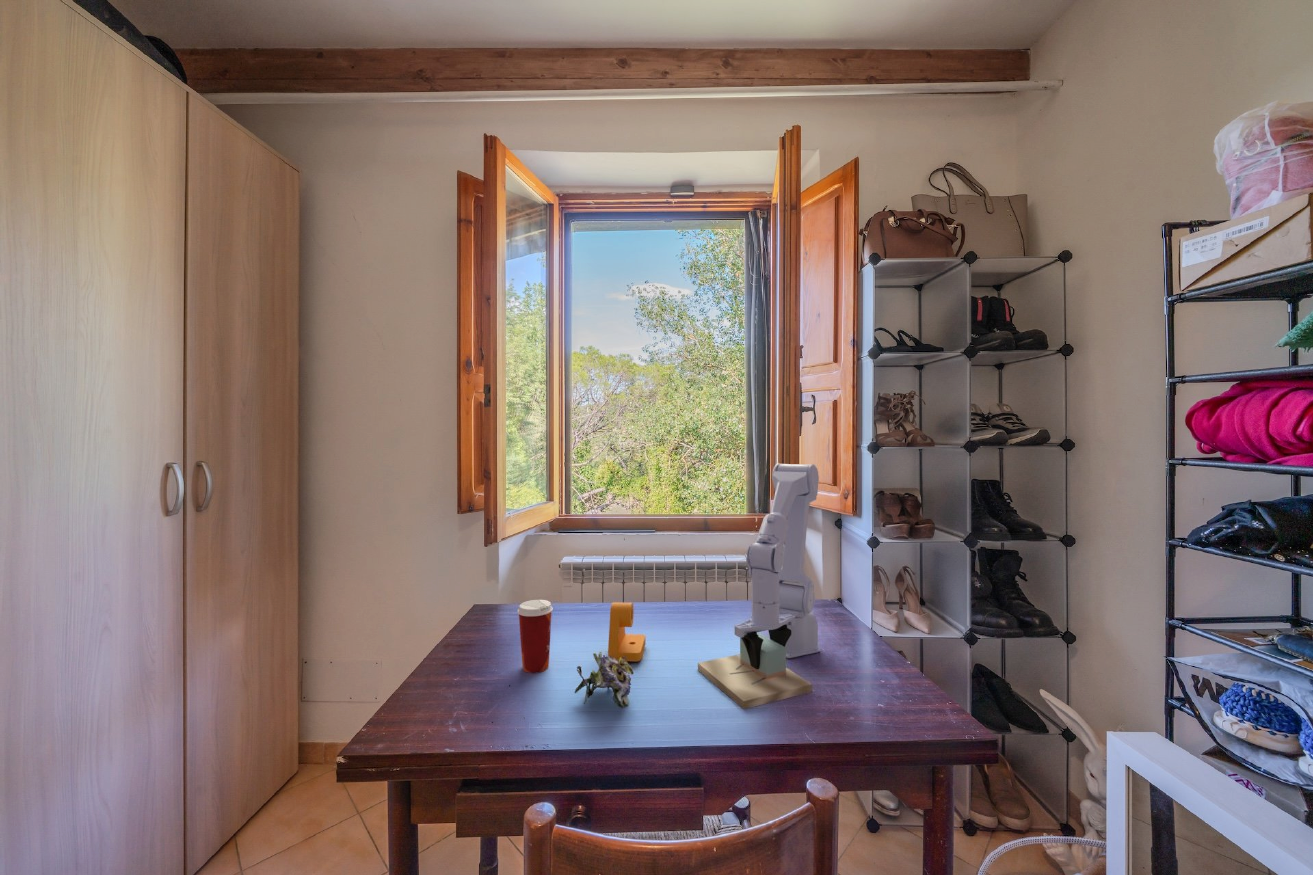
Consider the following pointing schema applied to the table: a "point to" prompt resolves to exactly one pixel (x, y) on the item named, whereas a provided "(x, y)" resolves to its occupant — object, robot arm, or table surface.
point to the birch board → (751, 682)
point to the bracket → (618, 640)
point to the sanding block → (767, 658)
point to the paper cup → (535, 634)
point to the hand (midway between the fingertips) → (765, 664)
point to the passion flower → (609, 678)
